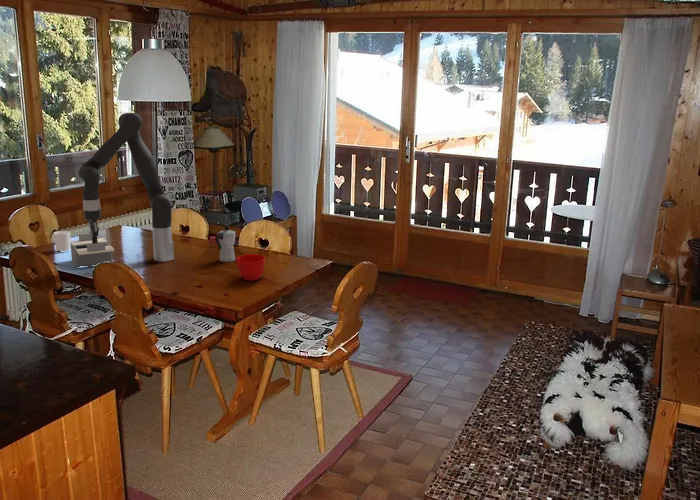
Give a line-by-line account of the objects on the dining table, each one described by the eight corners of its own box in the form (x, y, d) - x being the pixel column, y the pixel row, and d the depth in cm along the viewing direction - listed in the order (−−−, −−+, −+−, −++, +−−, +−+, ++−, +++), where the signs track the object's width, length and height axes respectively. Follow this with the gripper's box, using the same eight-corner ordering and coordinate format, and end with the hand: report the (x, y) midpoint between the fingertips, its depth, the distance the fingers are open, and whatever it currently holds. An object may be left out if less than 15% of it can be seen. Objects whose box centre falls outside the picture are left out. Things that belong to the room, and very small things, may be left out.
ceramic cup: (246, 270, 323) (246, 251, 321) (270, 278, 313) (270, 258, 310) (226, 276, 314) (225, 256, 311) (250, 284, 303) (250, 263, 301)
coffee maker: (229, 255, 349) (228, 222, 344) (242, 258, 344) (241, 224, 339) (209, 262, 336) (208, 227, 331) (222, 264, 332) (221, 230, 327)
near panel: (110, 247, 325) (110, 238, 323) (114, 251, 318) (113, 242, 317) (76, 250, 316) (75, 242, 315) (79, 254, 310) (78, 246, 309)
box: (105, 256, 341) (103, 239, 338) (111, 264, 328) (110, 246, 325) (71, 260, 333) (70, 242, 330) (77, 268, 320) (75, 250, 317)
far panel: (103, 239, 338) (103, 231, 337) (107, 242, 332) (106, 234, 331) (70, 242, 330) (69, 234, 329) (73, 246, 324) (72, 238, 323)
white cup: (60, 253, 343) (58, 235, 341) (52, 251, 348) (50, 232, 345) (74, 250, 349) (73, 232, 347) (66, 248, 354) (64, 229, 351)
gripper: (103, 210, 308) (106, 246, 313) (97, 205, 319) (100, 240, 324) (86, 212, 304) (89, 248, 309) (80, 206, 315) (84, 241, 320)
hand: (94, 244), depth 316 cm, fingers closed
